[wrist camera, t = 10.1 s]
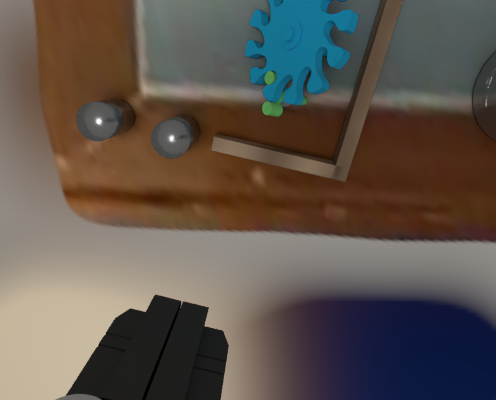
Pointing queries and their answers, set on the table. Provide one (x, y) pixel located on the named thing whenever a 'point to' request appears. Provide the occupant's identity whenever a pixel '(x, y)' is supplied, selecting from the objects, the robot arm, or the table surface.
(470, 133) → the table surface
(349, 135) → the frame
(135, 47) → the table surface
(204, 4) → the table surface
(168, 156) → the spacers
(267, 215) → the table surface
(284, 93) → the gear
